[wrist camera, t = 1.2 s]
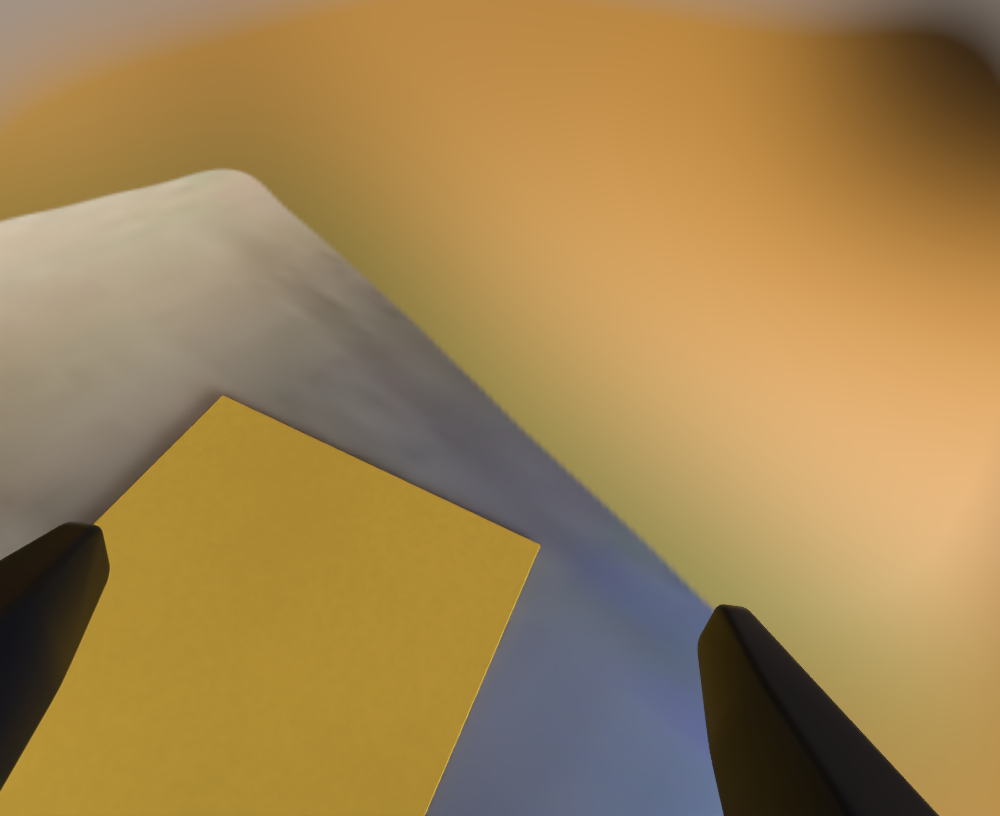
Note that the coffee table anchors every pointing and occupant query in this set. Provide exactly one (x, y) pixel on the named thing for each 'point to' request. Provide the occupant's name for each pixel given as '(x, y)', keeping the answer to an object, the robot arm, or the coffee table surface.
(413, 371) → the coffee table surface
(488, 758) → the coffee table surface
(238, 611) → the cloth
